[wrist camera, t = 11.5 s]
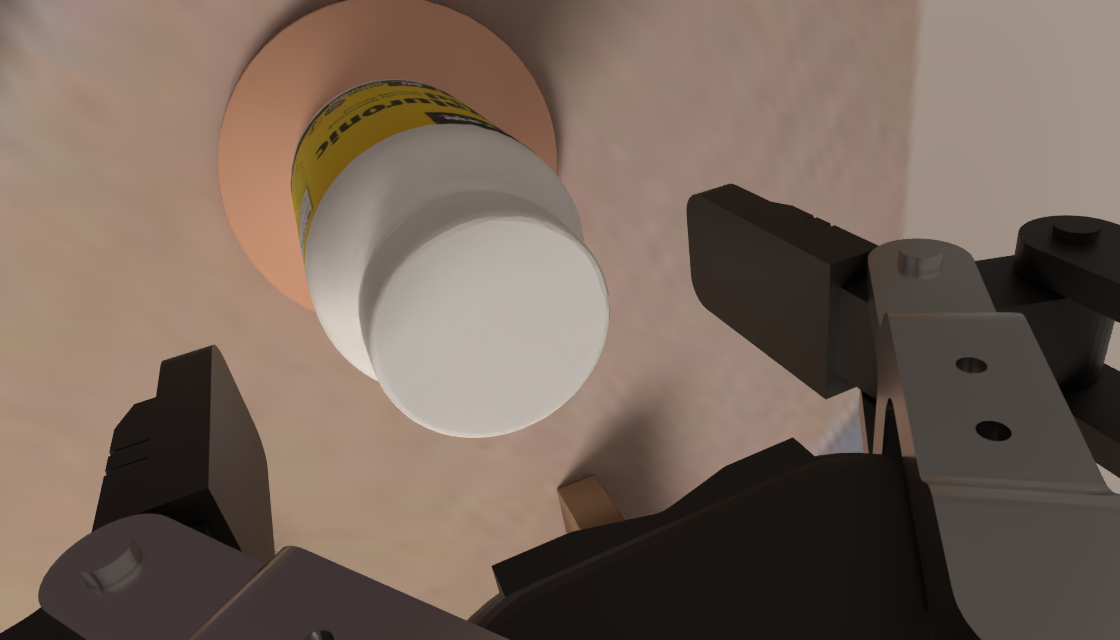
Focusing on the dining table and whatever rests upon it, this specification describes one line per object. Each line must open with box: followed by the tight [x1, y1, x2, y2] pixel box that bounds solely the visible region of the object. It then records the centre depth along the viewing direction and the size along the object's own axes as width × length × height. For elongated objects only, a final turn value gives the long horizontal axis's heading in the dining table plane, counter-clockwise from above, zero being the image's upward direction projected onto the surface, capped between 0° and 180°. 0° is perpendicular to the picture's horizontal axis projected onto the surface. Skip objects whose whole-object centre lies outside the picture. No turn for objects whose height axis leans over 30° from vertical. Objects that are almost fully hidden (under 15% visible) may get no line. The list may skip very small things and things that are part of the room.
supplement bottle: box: [291, 79, 610, 438], centre depth 16 cm, size 5×5×10 cm
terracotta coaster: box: [218, 0, 557, 313], centre depth 20 cm, size 9×9×1 cm
